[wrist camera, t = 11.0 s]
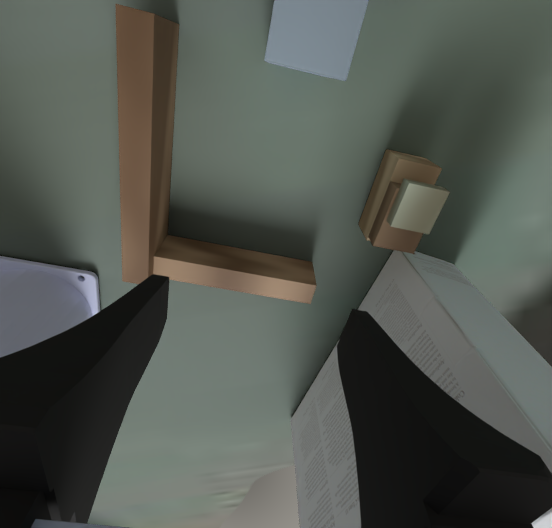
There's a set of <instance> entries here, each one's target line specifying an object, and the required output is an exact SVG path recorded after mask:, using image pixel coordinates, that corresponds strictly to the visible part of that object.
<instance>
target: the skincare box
mask: <svg viewBox="0 0 552 528" xmlns="http://www.w3.org/2000/svg"><path fill="white" fill-rule="evenodd" d="M358 310H362V311H367V312H368V313H369V314H370V315H371V316H372V317H373V318H374V319H375V321H376V322H377V323H378V324H379V325H380V326H381V327H382V329H383V330H384V331H385V332H386V333H387V334H388V336H389V337H390V338H391V339H392V340H393V341H394V342H395V343H396V345H397V346H398V347H399V348H400V349H401V350H402V351H403V352H404V353H405V354H406V355H407V357H408V358H409V359H410V360H411V361H412V362H413V363H414V364H415V365H416V366H417V367H418V368H419V369H420V370H421V371H422V372H423V373H424V374H426V375H427V376H428V377H429V378H430V379H431V380H432V381H433V382H434V383H436V384H437V385H438V386H439V387H440V388H441V389H442V390H444V391H445V392H446V393H447V394H448V395H450V396H451V397H452V398H453V399H455V400H456V401H457V402H459V403H460V404H461V405H462V406H464V407H465V408H466V409H468V410H469V411H470V412H472V413H473V414H475V415H476V416H477V417H479V418H480V419H482V420H483V421H485V422H486V423H487V424H489V425H490V426H492V427H493V428H495V429H496V430H498V431H499V432H501V433H503V434H504V435H506V436H507V437H509V438H511V439H512V440H514V441H516V442H517V443H519V444H521V445H522V446H524V447H526V448H527V449H529V450H531V451H532V452H534V453H536V454H537V455H539V456H540V457H541V458H542V460H543V461H544V463H545V464H546V466H547V467H548V469H549V470H550V472H551V473H552V367H551V366H550V365H549V364H548V363H547V362H546V361H545V360H544V359H543V358H542V357H541V355H540V354H539V353H538V352H537V351H536V350H535V349H534V348H533V347H532V346H531V345H530V344H529V343H528V342H527V341H526V340H525V339H524V338H523V337H522V336H521V335H520V333H519V332H518V331H517V330H516V329H515V328H514V327H513V326H512V325H511V324H510V323H509V322H508V321H507V320H506V319H505V318H504V317H503V316H502V315H501V314H500V313H499V311H498V310H497V309H496V308H495V307H494V306H493V305H492V304H491V303H490V302H489V301H488V300H487V299H486V298H485V297H484V296H483V295H482V294H481V293H480V292H479V290H478V289H477V288H476V287H475V286H474V285H473V284H472V283H471V282H470V281H469V280H468V279H467V278H466V277H465V276H464V275H463V274H462V272H461V271H460V270H459V269H458V268H457V267H456V266H455V265H454V264H452V263H449V262H447V261H444V260H441V259H438V258H435V257H432V256H428V255H425V254H423V253H420V252H417V251H415V252H414V254H412V253H407V252H402V251H396V250H394V251H393V252H392V254H391V256H390V257H389V259H388V261H387V262H386V264H385V266H384V267H383V269H382V270H381V272H380V274H379V275H378V277H377V279H376V280H375V282H374V284H373V285H372V287H371V288H370V290H369V292H368V293H367V295H366V297H365V298H364V300H363V301H362V303H361V305H360V306H359V308H358ZM339 340H340V339H339ZM338 342H339V341H338ZM338 342H337V344H338ZM337 344H336V346H335V347H334V349H333V351H332V352H331V354H330V356H329V357H328V359H327V361H326V362H325V364H324V365H323V367H322V369H321V370H320V372H319V374H318V375H317V377H316V379H315V380H314V382H313V384H312V385H311V387H310V389H309V390H308V392H307V394H306V395H305V397H304V399H303V400H302V402H301V404H300V405H299V407H298V409H297V410H296V412H295V413H294V415H293V417H292V418H291V431H292V441H293V451H294V462H295V473H296V483H297V499H298V511H299V522H300V528H361V516H360V502H359V488H358V477H357V467H356V457H355V449H354V441H353V433H352V427H351V422H350V418H349V413H348V409H347V404H346V400H345V396H344V391H343V387H342V382H341V378H340V373H339V367H338V356H337ZM531 524H532V526H533V527H534V528H552V508H551V509H550V510H548V511H547V512H546V513H544V514H543V515H542V516H540V517H539V518H538V519H536V520H535V521H534V522H532V523H531Z"/></svg>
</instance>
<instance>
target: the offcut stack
mask: <svg viewBox="0 0 552 528" xmlns="http://www.w3.org/2000/svg"><path fill="white" fill-rule="evenodd" d="M441 170H442V168H441V167H439V166H437V165H436V164H434V163H432V162H431V161H429V160H428V159H426V158H423V157H419V156H414V155H410V154H406V153H401V152H397V151H393V150H388V149H386V151H385V154H384V156H383V159H382V162H381V164H380V167H379V170H378V173H377V175H376V178H375V181H374V183H373V186H372V189H371V191H370V194H369V197H368V199H367V202H366V205H365V207H364V210H363V213H362V216H361V218H360V221H359V224H358V225H359V227H360V229H361V230H362V232H363V234H364V236H365V238H366V240H368V241H371V243H372V245H373V246H376V247H381V248H386V249H391V250H396V251H402V252H407V253H412V254H414V252H415V250H416V248H417V246H418V244H419V242H420V240H421V237H422V235H423V233H425V234H429V233H430V231H431V229H432V227H433V225H434V223H435V221H436V219H437V217H438V215H439V213H440V211H441V209H442V207H443V205H444V203H445V201H446V199H447V197H448V195H449V193H450V192H449V191H448V190H446V189H445V188H444V187H440V186H436V185H435V183H436V181H437V178H438V176H439V174H440V172H441Z"/></svg>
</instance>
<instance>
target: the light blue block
mask: <svg viewBox="0 0 552 528" xmlns="http://www.w3.org/2000/svg"><path fill="white" fill-rule="evenodd" d="M368 1H369V0H274V6H273V12H272V18H271V24H270V30H269V36H268V42H267V48H266V54H265V59H264V61H266V62H268V63H272V64H275V65H279V66H283V67H287V68H291V69H295V70H299V71H303V72H307V73H311V74H315V75H319V76H323V77H328V78H333V79H338V80H343V81H346V79H347V75H348V72H349V68H350V65H351V61H352V58H353V54H354V51H355V47H356V44H357V40H358V37H359V33H360V30H361V26H362V22H363V19H364V15H365V12H366V8H367V5H368Z"/></svg>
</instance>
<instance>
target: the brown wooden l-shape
mask: <svg viewBox="0 0 552 528" xmlns="http://www.w3.org/2000/svg"><path fill="white" fill-rule="evenodd" d="M178 36H179V24H177V23H175V22H172V21H170V20H168V19H165V18H163V17H161V16H158V15H156V14H153V13H149V12H146V11H142V10H138V9H134V8H130V7H126V6H122V5H119V4H116V39H117V80H118V120H119V161H120V201H121V241H122V281H124V282H130V283H136V284H140V283H141V282H142V281H144V280H145V279H146V278H148V277H149V276H151V275H152V274H156V275H162V276H167V277H169V279H170V280H176V281H182V282H187V283H193V284H199V285H205V286H210V287H216V288H222V289H228V290H233V291H239V292H245V293H251V294H256V295H262V296H268V297H274V298H279V299H285V300H291V301H296V302H302V303H308V304H311V301H312V298H313V295H314V292H315V289H316V286H317V285H316V280H315V275H314V269H313V264H312V262H310V261H304V260H299V259H294V258H288V257H283V256H278V255H272V254H267V253H262V252H257V251H251V250H246V249H241V248H235V247H230V246H225V245H219V244H214V243H209V242H203V241H198V240H193V239H188V238H182V237H177V236H172V235H168V220H169V202H170V183H171V165H172V147H173V128H174V110H175V91H176V73H177V54H178Z"/></svg>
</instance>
